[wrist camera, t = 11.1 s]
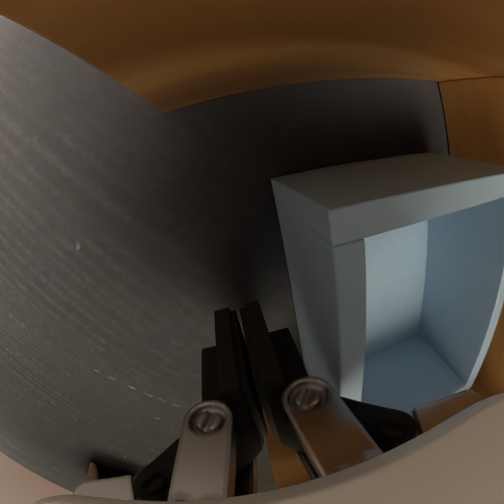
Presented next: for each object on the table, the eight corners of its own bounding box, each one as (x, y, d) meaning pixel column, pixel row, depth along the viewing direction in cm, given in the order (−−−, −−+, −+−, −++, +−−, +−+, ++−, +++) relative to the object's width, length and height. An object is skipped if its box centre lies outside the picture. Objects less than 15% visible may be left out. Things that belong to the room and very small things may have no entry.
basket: (270, 178, 10) (327, 210, 5) (429, 151, 11) (521, 170, 6) (305, 379, 15) (337, 458, 9) (421, 333, 15) (471, 387, 10)
